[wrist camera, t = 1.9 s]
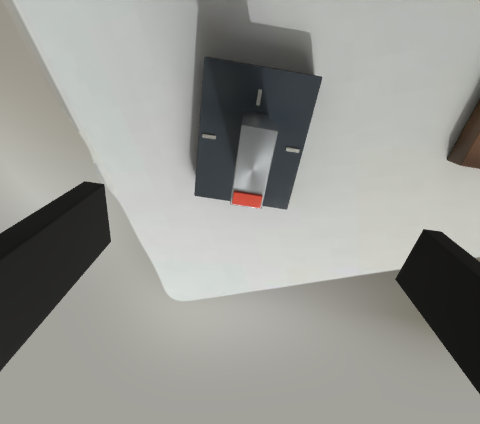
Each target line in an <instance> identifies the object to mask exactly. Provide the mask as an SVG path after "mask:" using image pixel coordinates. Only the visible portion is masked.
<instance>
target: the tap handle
mask: <svg viewBox="0 0 480 424" xmlns="http://www.w3.org/2000/svg"><path fill="white" fill-rule="evenodd" d="M277 134H278V131H277V129H276V127H275V125H274V124H273V122H272V120H271V118H270V117H269V115H266V114H260V113H254V112H248V111H244V113H243V120H242V126H241V133H240V140H239V146H238V153H237V160H236V167H235V173H234V180H233V187H232V194H231V200H230V204H231V205H237V206H244V207H251V208H257V209H261V208H262V204H263V199H264V195H265V190H266V185H267V181H268V176H269V172H270V167H271V162H272V158H273V153H274V148H275V144H276V139H277Z"/></svg>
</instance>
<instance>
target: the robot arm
mask: <svg viewBox="0 0 480 424" xmlns="http://www.w3.org/2000/svg"><path fill="white" fill-rule="evenodd" d="M110 242H111V238H110V230H109V221H108V213H107V204H106V196H105V187H104V184H98V183H92V182H83V183H81V184H80V185H78V186H76V187H75V188H73V189H72V190H70V191H68V192H67V193H65V194H64V195H62V196H60V197H59V198H57V199H55V200H54V201H52V202H51V203H49V204H48V205H46V206H44V207H43V208H41V209H40V210H38V211H36V212H34V213H33V214H31V215H30V216H28V217H26V218H25V219H23V220H21V221H20V222H18V223H17V224H15V225H13V226H12V227H10V228H8V229H7V230H5V231H4V232H2V233H1V234H0V371H1V370H2V369H3V367H4V366H5V365H6V364H7V363H8V361H9V360H10V359H11V358H12V357H13V356H14V354H15V353H16V352H17V351H18V350H19V349H20V347H21V346H22V345H23V344H24V343H25V342H26V340H27V339H28V338H29V337H30V336H31V335H32V333H33V332H34V331H35V330H36V329H37V328H38V326H39V325H40V324H41V323H42V322H43V321H44V319H45V318H46V317H47V316H48V315H49V313H50V312H51V311H52V310H53V309H54V308H55V306H56V305H57V304H58V303H59V302H60V301H61V299H62V298H63V297H64V296H65V295H66V294H67V292H68V291H69V290H70V289H71V288H72V286H73V285H74V284H75V283H76V282H77V281H78V280H79V278H80V277H81V276H82V275H83V274H84V272H85V271H86V270H87V269H88V268H89V267H90V265H91V264H92V263H93V262H94V261H95V260H96V258H97V257H98V256H99V255H100V254H101V252H102V251H103V250H104V249H105V248H106V247H107V246H108V244H109V243H110ZM396 281H397V282H398V283H399V285H400V286H401V288H402V289H403V290H404V292H405V293H406V294H407V296H408V297H409V298H410V300H411V301H412V303H413V304H414V305H415V307H416V308H417V309H418V311H419V312H420V313H421V315H422V316H423V318H424V319H425V320H426V322H427V323H428V324H429V326H430V327H431V328H432V330H433V331H434V332H435V334H436V335H437V336H438V338H439V339H440V341H441V342H442V343H443V345H444V346H445V347H446V349H447V350H448V352H449V353H450V354H451V355H452V357H453V358H454V360H455V361H456V362H457V364H458V365H459V367H460V368H461V369H462V371H463V372H464V373H465V375H466V376H467V377H468V379H469V380H470V381H471V383H472V384H473V386H474V387H475V388H476V390H477V391H478V392H479V394H480V262H479V261H478V260H476V259H475V258H474V257H473V256H471V255H470V254H469V253H468V252H466V251H465V250H464V249H463V248H461V247H460V246H459V245H457V244H456V243H455V242H454V241H452V240H451V239H450V238H449V237H447V236H446V235H445V234H444V233H442V232H439V231H432V230H425V229H424V230H423V231H422V233H421V235H420V237H419V238H418V240H417V242H416V244H415V245H414V247H413V249H412V251H411V253H410V254H409V256H408V258H407V260H406V261H405V263H404V265H403V267H402V268H401V270H400V272H399V274H398V275H397V278H396Z"/></svg>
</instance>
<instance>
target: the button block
mask: <svg viewBox="0 0 480 424" xmlns="http://www.w3.org/2000/svg"><path fill="white" fill-rule="evenodd" d="M447 160H448V161H450V162H453V163H455V164H458V165H460V166H466V167H472V168H478V169H480V100H479V102H478V104H477V106H476V107H475V109H474V111H473V113H472V115H471V117H470V118H469V120H468V122H467V124H466V126H465V128H464V129H463V131H462V133H461V135H460V137H459V139H458V140H457V142H456V144H455V146H454V148H453V150H452V152H451V153H450V155H449V157H448V159H447Z"/></svg>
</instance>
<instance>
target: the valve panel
mask: <svg viewBox="0 0 480 424" xmlns="http://www.w3.org/2000/svg"><path fill="white" fill-rule="evenodd" d="M321 81H322V77H320V76H315V75H309V74H303V73H297V72H292V71H286V70H280V69H274V68H269V67H263V66H257V65H251V64H246V63H240V62H234V61H228V60H223V59H217V58H211V57H205V59H204V72H203V86H202V100H201V113H200V127H199V140H198V154H197V168H196V181H195V196H200V197H207V198H214V199H220V200H227V201H230V200H231V194H232V187H233V180H234V173H235V167H236V160H237V153H238V146H239V140H240V133H241V126H242V120H243V113H244V111H248V112H254V113H260V114H266V115H269V117H270V118H271V120H272V122H273V124H274V125H275V127H276V129H277V131H278V134H277V139H276V144H275V148H274V153H273V158H272V162H271V167H270V172H269V176H268V181H267V185H266V190H265V195H264V199H263V204H262V206H267V207H274V208H280V209H287V208H288V204H289V200H290V196H291V193H292V189H293V185H294V181H295V178H296V174H297V170H298V166H299V163H300V159H301V155H302V152H303V148H304V144H305V140H306V137H307V133H308V129H309V125H310V122H311V118H312V114H313V110H314V107H315V103H316V99H317V96H318V92H319V88H320V84H321Z"/></svg>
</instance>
